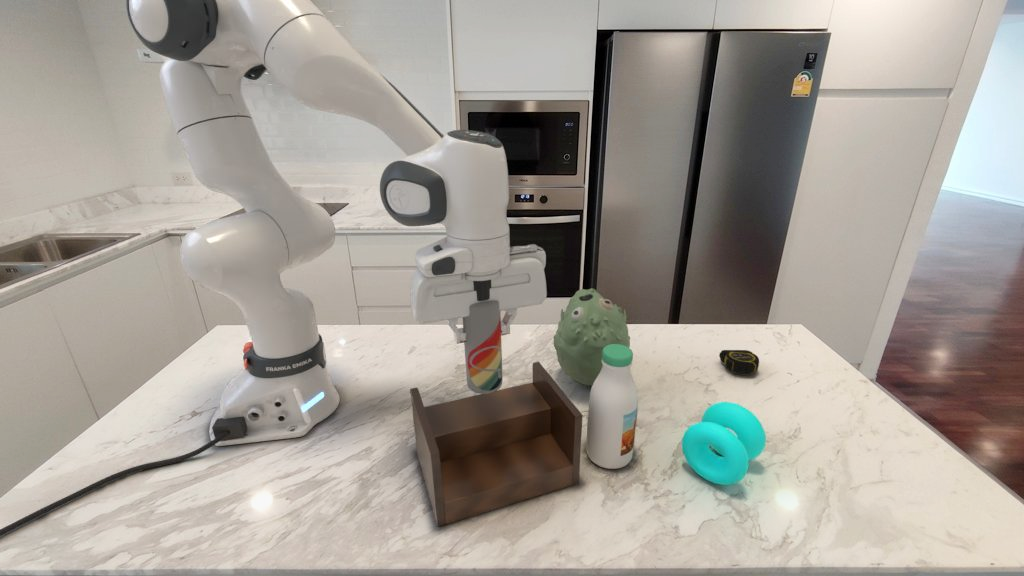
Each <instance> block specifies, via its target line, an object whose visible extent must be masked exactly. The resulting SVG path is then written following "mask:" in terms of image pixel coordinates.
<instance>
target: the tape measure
mask: <svg viewBox="0 0 1024 576" xmlns="http://www.w3.org/2000/svg"><path fill="white" fill-rule="evenodd" d="M718 357H719V360H720V362H721V363H722V364H724V367H725V368H726V370H728V371H729V372H732V373H734V374H737V375H742V376H750V375H754V374H755V373H757V372H758V368H759V365H760V358H759V356H758V355H757V354H756V353H754V352H753V351H750V350H749V349H721V351H720V352H719V354H718Z"/></svg>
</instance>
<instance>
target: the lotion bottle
mask: <svg viewBox="0 0 1024 576" xmlns="http://www.w3.org/2000/svg"><path fill="white" fill-rule="evenodd" d="M473 284H474V291H476V293H477V301H483V302H479V303H475V304H472V305H470V306H469V311H470V313H469V316H467V317H461V318H462V328H463V330H464V331H465V332H466V339H467V341H466V342H464V343H463V344H464V358H465V376H466V384H467V387H468V389H469V390H470V391H471V392H473V393H476V394H478V395H479V394H489V393H493V392H495V391H497V390H500V388H501V387H502V386H503V352H502V351H503V350H502V335H501V321H502V319H501V318H502V317H501V311H500V310H499V301H497V300H491V301H484V300H488V299H489V298H490V288H491V280H486V281H473Z"/></svg>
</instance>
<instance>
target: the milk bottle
mask: <svg viewBox="0 0 1024 576" xmlns="http://www.w3.org/2000/svg"><path fill="white" fill-rule="evenodd" d="M633 359H634V353H633V350H632V349H631V348H630V347H629V348H628V347H627V346H624V345H620V344H611V345H607V346H605V347H604V348H603V351H602V364H603V367H602V369H601V371H600V373H599V375H598V377H597V378H596V380H595V381H594V383H593V385H591V389H590V392H589V401H588V409H587V410H588V411H587V426H586V443H585V445H586V446H585V451H586V455H587V456H588V458H589V459H590V461H591V462H592V463H594V464H595V465H596V466H599V467H600V468H604V469H609V470H614V469H615V470H616V469H622V468H624V467H626V466H627V465H628V464H630V462H631V461H632V460H633V455H634V446H635V439H636V430H637V429H636V427H637V418H638V409H639V408H638V405H639V404H638V403H639V394H638V390H637V386H636V383H635V381H634V378H633V376H632V372H631V367H632V366H633Z"/></svg>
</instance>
